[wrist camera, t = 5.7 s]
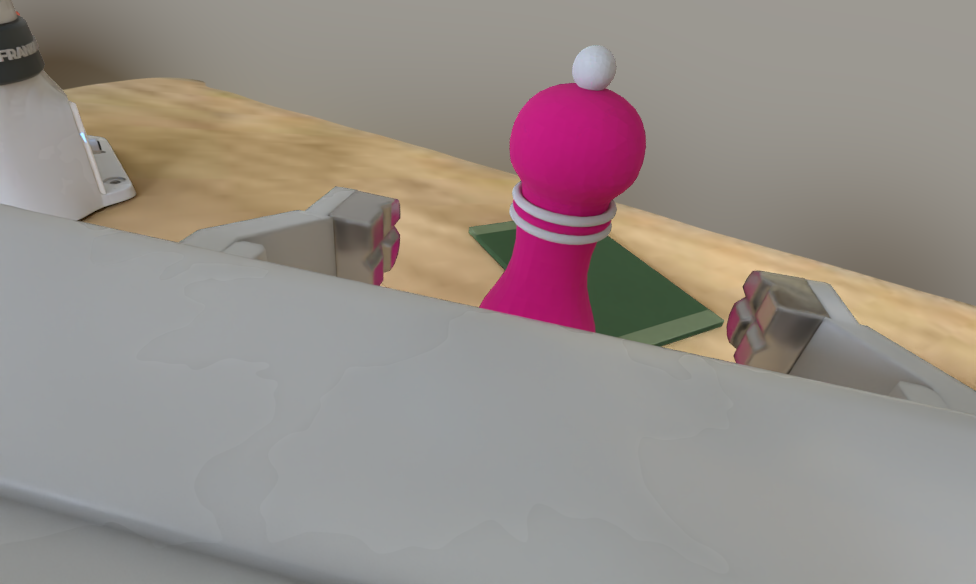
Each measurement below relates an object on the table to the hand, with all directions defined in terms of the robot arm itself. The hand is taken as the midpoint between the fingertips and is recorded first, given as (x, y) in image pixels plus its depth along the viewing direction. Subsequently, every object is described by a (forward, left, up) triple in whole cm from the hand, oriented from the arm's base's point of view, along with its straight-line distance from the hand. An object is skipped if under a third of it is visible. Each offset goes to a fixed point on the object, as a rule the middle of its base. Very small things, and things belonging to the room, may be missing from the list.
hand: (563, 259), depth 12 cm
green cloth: (-19, +21, -17) cm, 33 cm away
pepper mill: (-9, +8, -17) cm, 21 cm away
